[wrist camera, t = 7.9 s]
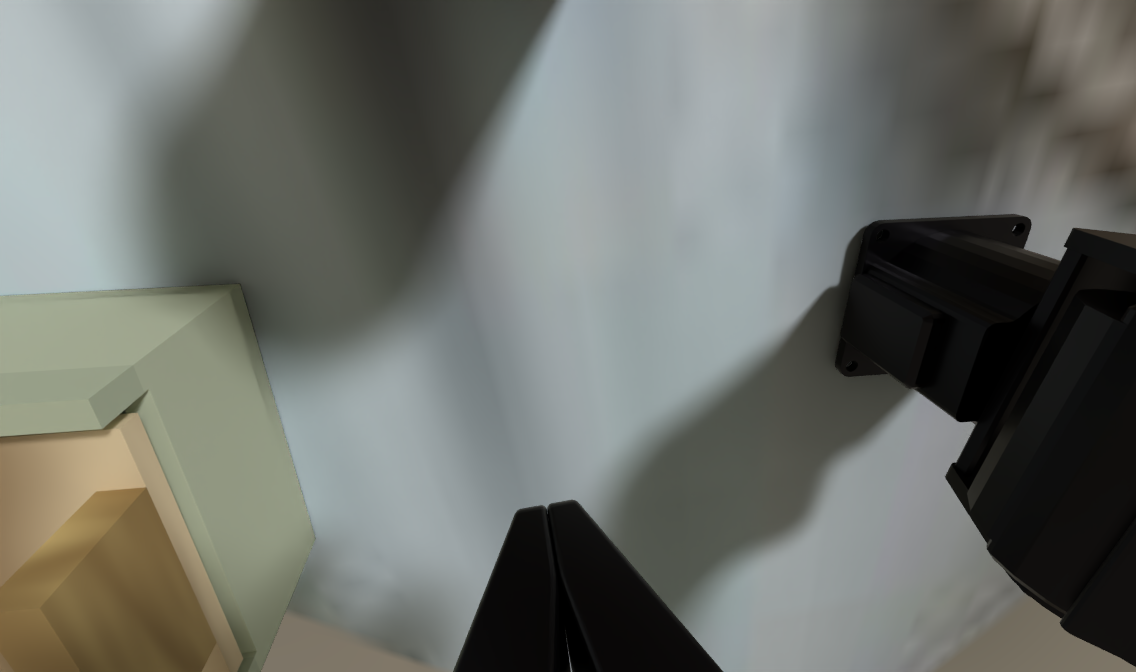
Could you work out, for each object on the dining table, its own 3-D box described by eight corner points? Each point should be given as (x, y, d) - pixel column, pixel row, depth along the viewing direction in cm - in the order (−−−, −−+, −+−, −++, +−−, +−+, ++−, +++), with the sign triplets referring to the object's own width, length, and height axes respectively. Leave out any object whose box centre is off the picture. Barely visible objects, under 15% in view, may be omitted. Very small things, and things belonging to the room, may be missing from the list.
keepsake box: (239, 283, 19) (88, 399, 12) (315, 538, 24) (239, 721, 17) (-77, 300, 18) (-438, 435, 11) (73, 561, 23) (-110, 764, 16)
